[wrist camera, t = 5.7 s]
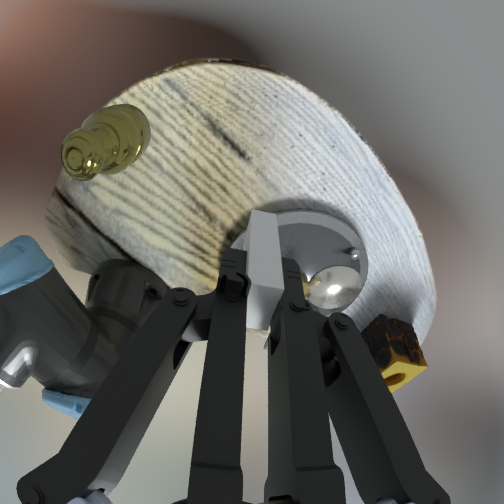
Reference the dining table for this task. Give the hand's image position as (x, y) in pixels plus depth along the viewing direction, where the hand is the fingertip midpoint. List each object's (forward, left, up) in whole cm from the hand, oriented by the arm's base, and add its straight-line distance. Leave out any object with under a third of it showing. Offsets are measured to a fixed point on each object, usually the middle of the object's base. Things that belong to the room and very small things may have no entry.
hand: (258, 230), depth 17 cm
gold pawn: (-16, +1, -15) cm, 22 cm away
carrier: (+8, -14, -14) cm, 22 cm away
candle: (+29, -25, -15) cm, 41 cm away
